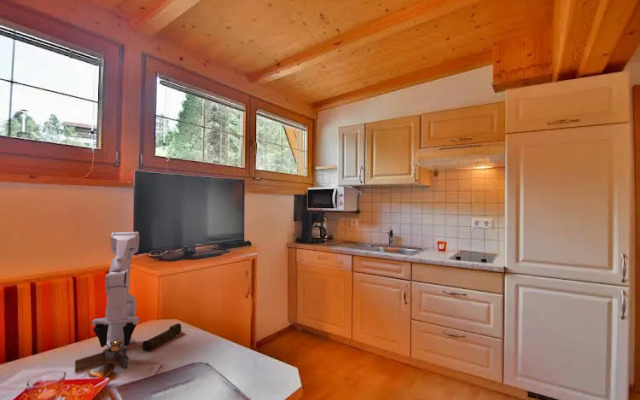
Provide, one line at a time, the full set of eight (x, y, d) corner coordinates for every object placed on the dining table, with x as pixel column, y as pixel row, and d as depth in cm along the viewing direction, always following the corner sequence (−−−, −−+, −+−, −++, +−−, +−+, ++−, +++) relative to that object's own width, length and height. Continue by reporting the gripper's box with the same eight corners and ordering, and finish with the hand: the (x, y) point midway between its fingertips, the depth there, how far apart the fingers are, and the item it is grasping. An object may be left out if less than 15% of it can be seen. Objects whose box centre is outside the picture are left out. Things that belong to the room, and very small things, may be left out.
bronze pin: (113, 357, 107) (113, 339, 107) (124, 356, 107) (125, 339, 108) (106, 362, 103) (107, 344, 104) (118, 361, 104) (119, 343, 104)
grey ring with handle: (100, 359, 105) (101, 349, 105) (122, 353, 110) (122, 343, 110) (114, 372, 96) (115, 361, 96) (137, 365, 101) (137, 354, 101)
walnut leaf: (72, 368, 99) (73, 357, 99) (122, 353, 110) (122, 343, 110) (77, 374, 95) (78, 363, 95) (128, 358, 106) (129, 348, 106)
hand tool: (149, 352, 111) (150, 339, 111) (141, 351, 112) (141, 338, 112) (186, 333, 129) (186, 322, 129) (178, 332, 130) (178, 321, 130)
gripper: (86, 310, 102) (85, 351, 101) (132, 308, 103) (131, 349, 102) (100, 304, 109) (98, 342, 108) (142, 302, 110) (141, 340, 109)
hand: (115, 345), depth 106 cm, fingers open, 7 cm apart
